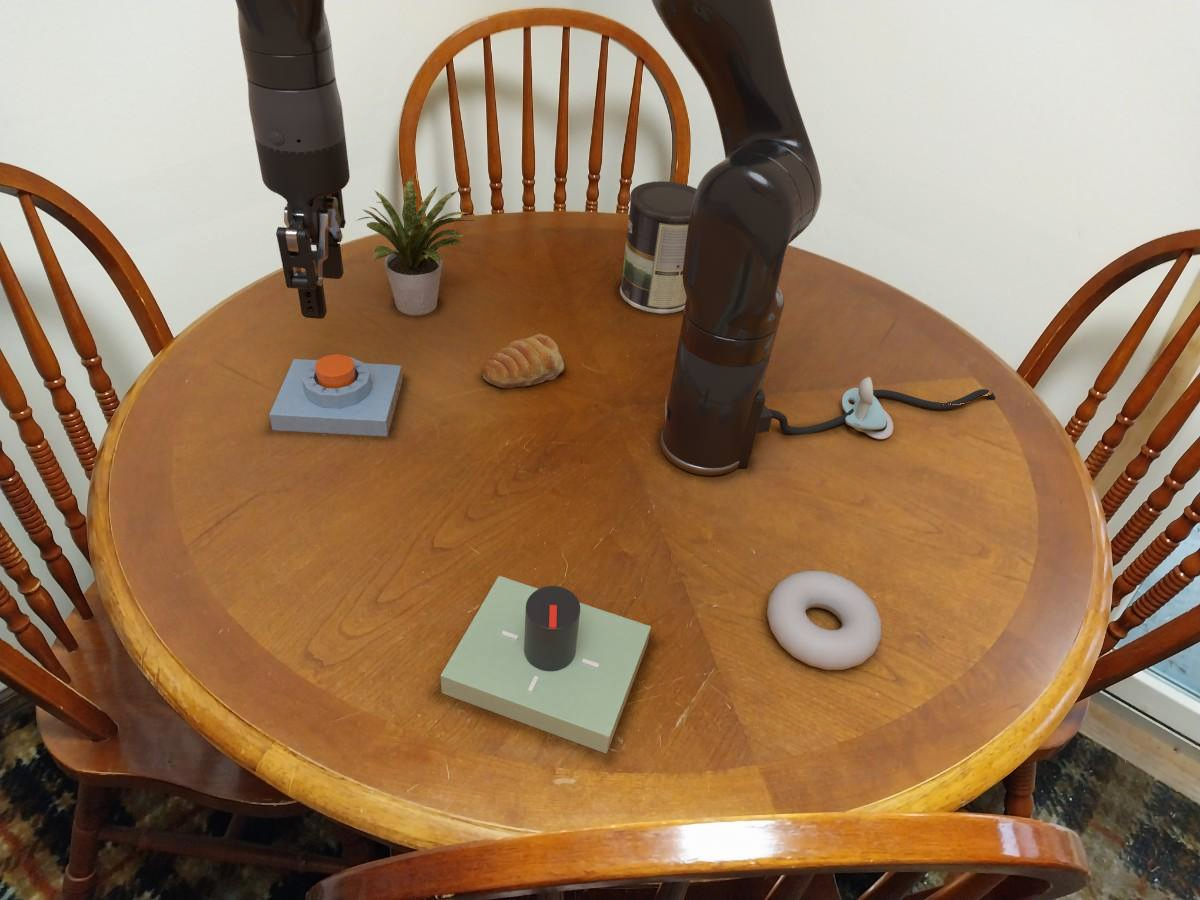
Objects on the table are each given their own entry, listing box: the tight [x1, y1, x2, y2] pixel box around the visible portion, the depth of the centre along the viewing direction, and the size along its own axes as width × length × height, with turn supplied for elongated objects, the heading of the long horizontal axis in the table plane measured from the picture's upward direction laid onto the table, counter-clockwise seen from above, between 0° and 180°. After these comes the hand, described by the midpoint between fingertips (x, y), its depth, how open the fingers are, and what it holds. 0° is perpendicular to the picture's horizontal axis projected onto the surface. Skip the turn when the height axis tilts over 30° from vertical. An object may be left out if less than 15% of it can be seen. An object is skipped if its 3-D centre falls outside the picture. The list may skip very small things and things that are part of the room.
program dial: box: [524, 585, 581, 671], centre depth 67 cm, size 4×4×6 cm
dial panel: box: [440, 575, 652, 755], centre depth 69 cm, size 14×11×3 cm
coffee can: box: [619, 180, 697, 315], centre depth 112 cm, size 10×10×14 cm
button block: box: [268, 356, 404, 437], centre depth 92 cm, size 12×10×4 cm
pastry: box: [482, 333, 565, 389], centre depth 99 cm, size 9×7×4 cm
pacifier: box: [841, 376, 895, 440], centre depth 97 cm, size 7×6×6 cm
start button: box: [315, 353, 356, 389], centre depth 90 cm, size 4×4×2 cm
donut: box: [766, 570, 882, 671], centre depth 74 cm, size 10×3×10 cm
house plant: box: [355, 175, 476, 316], centre depth 103 cm, size 14×14×16 cm
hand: (324, 295), depth 84 cm, fingers open, 7 cm apart
